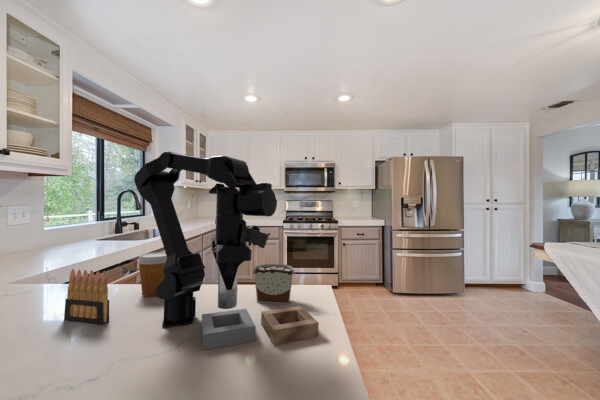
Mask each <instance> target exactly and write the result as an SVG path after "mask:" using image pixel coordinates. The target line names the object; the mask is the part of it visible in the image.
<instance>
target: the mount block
mask: <svg viewBox="0 0 600 400" xmlns="http://www.w3.org/2000/svg"><path fill="white" fill-rule="evenodd" d="M260 313H261V314H260V315H261V316H260V325H261V327H262V329H263V330H264V331H265V333H266V335H267V337H268V338H269V340H270V343H271V345H273V346H276V345H282V344H287V343H292V342H293V343H294V342H297V341H302V340H308V339H313V338H317V337H319V324H320V323H319V322H318V320H317V319H315V318H314V317H313V316H312V315H311V314H310V313H309V312H308V311H306V310H305V308H303V307H302V305H299V306H291V307H283V308H277V309H270V310H262V311H261V312H260Z"/></svg>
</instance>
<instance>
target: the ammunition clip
mask: <svg viewBox="0 0 600 400" xmlns="http://www.w3.org/2000/svg"><path fill="white" fill-rule="evenodd" d="M69 274H70V275H69V277H68V278H69V280H68V286H67V297H66V298H65V301H64V303H65V304H64V316H63V321H64V322H72V323H81V324H90V325H98V326H99V325H100V326H101V325H105V324H107V323H108V322H110V299H109V287H108V276H107V273H106V271H105V270H104V271H103V272H102V274H101V273H100V271H99V270H97V271H96V273H94V270H93V269H92V270H90V271H89V273H88V271H87V269H85V270H84V271H83V273H82V271H81V269H80V268H79V269H78V270H77V271H75V269H74V268H73V269H71V271H70V273H69Z"/></svg>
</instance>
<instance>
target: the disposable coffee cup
mask: <svg viewBox="0 0 600 400" xmlns="http://www.w3.org/2000/svg"><path fill="white" fill-rule="evenodd" d="M166 259H167V256H166V252H165V251H164V252H163V251H161V252H159V251H158V252H156V251H155V252H147V253H142V254H139V255H138V258H137V263H138V267H139V277H140V278H139V279H140V284H141V285H140V286H141V295H142V296H143V297H157V296H156V295H157V294H156V288H157V287H158V285H159V284H160V283H161V282H162V281H163V279H164V278H165V277H164V272H163V269H164V266H165V263H166Z"/></svg>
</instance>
